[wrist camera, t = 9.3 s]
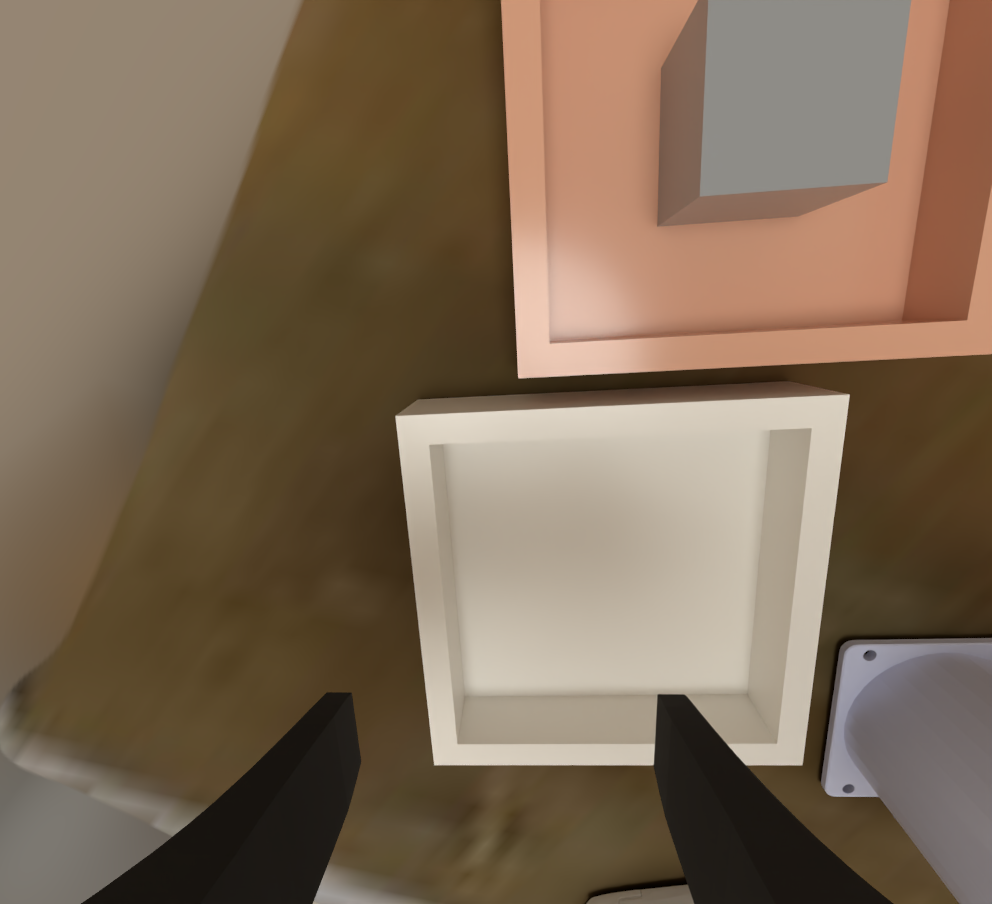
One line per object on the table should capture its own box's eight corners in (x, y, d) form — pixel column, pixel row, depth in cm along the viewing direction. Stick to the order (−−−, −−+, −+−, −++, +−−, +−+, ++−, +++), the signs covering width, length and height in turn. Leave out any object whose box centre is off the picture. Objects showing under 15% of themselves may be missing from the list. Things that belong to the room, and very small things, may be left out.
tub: (788, 381, 18) (849, 394, 15) (758, 696, 22) (802, 765, 18) (418, 399, 19) (395, 415, 16) (447, 698, 23) (434, 765, 19)
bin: (981, -147, 14) (1127, -296, 11) (905, 347, 18) (997, 353, 14) (498, -92, 15) (491, -211, 12) (519, 368, 19) (518, 378, 15)
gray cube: (813, 54, 15) (916, -42, 11) (798, 216, 16) (887, 182, 12) (661, 68, 15) (708, -20, 11) (657, 227, 16) (699, 196, 12)
